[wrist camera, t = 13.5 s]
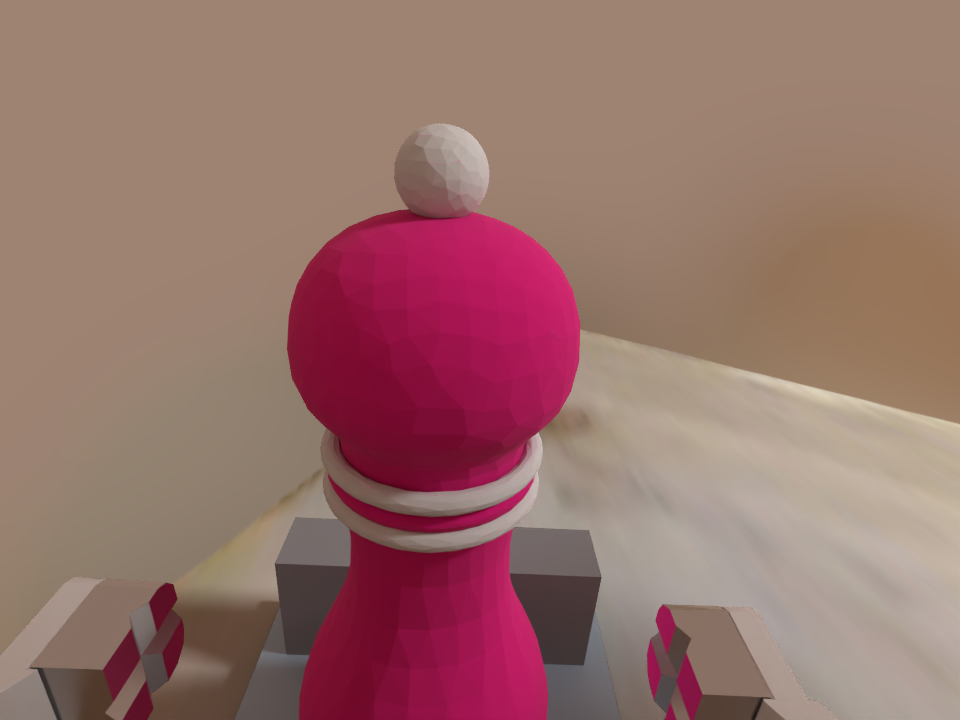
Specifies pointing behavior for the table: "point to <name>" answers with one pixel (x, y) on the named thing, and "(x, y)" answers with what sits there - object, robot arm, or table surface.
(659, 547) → the table surface
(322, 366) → the pepper mill
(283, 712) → the vise
